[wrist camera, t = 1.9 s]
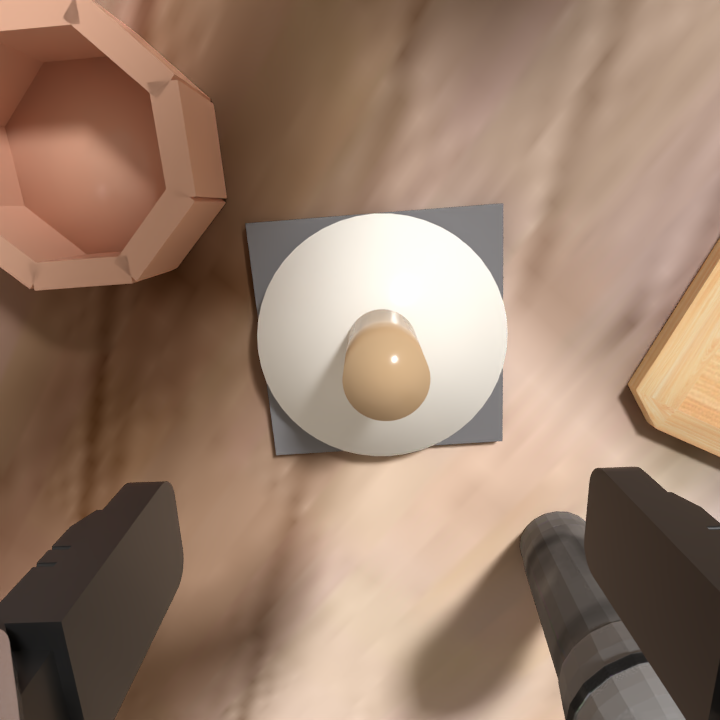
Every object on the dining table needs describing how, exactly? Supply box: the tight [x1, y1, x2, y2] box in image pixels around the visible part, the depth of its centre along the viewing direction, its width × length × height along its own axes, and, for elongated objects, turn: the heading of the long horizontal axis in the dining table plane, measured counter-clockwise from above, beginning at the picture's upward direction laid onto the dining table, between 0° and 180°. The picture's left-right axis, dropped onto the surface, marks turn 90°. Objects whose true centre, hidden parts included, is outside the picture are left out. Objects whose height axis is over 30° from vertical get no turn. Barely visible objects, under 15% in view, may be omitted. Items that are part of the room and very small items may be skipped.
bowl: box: [0, 0, 227, 291], centre depth 23 cm, size 11×11×5 cm
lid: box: [257, 213, 508, 456], centre depth 24 cm, size 13×13×7 cm
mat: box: [245, 203, 503, 455], centre depth 28 cm, size 13×13×1 cm
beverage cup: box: [520, 512, 686, 720], centre depth 22 cm, size 7×7×20 cm
